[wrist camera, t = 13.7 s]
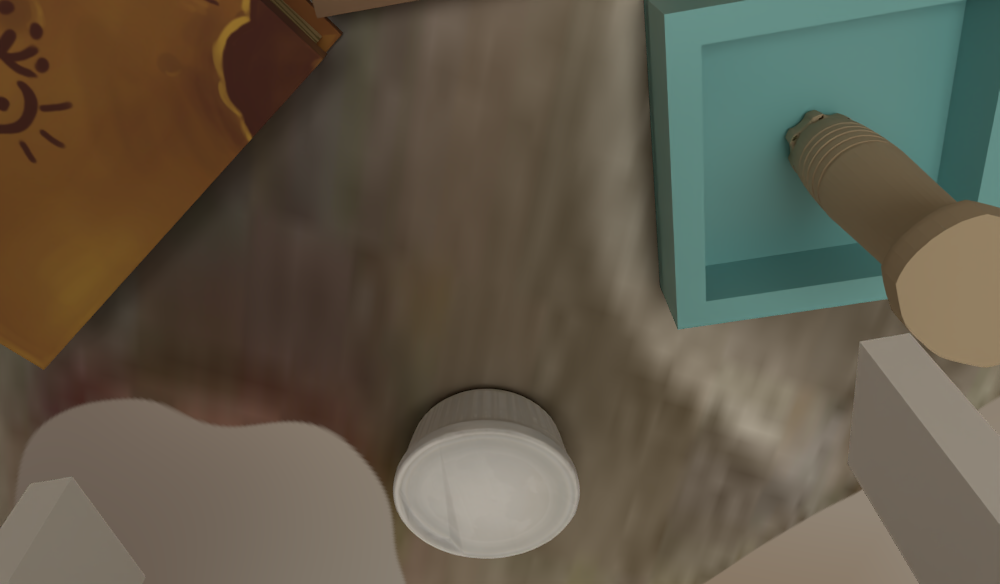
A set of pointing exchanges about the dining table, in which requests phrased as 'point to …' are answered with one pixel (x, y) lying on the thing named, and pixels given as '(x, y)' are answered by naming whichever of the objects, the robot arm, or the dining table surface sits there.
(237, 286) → the dining table surface
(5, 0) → the diary
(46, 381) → the dining table surface
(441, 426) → the ramekin
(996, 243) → the handle
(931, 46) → the parts tray
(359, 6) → the socket
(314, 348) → the dining table surface
